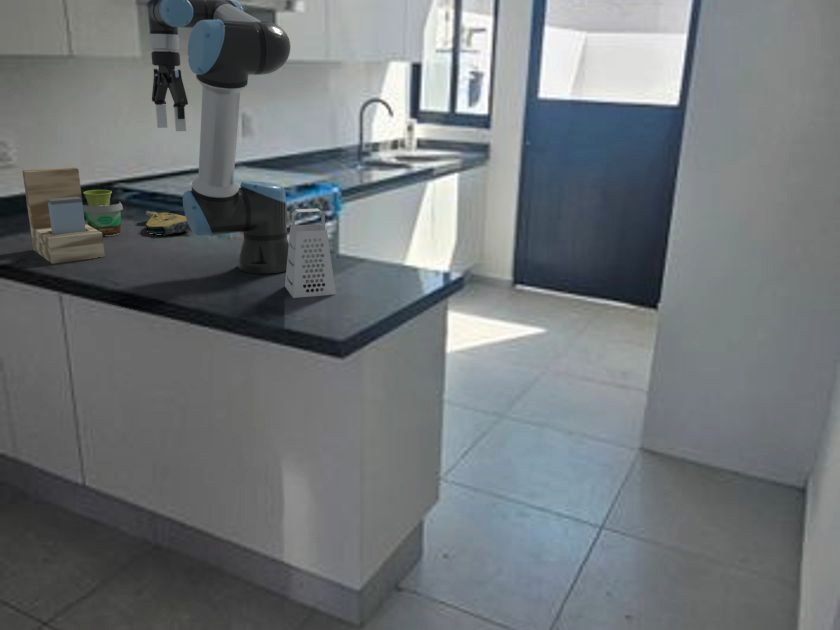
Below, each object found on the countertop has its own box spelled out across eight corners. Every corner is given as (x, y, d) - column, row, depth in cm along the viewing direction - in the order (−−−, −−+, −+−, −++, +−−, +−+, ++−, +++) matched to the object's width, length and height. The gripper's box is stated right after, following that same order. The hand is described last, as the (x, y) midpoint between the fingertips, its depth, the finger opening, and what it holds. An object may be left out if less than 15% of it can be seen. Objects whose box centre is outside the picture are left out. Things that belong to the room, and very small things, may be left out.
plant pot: (119, 214, 275) (117, 190, 272) (103, 219, 266) (101, 194, 264) (97, 213, 277) (94, 189, 274) (80, 217, 268) (77, 193, 265)
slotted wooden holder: (104, 256, 215) (95, 175, 208) (52, 263, 207) (40, 179, 200) (83, 243, 230) (74, 167, 223) (33, 249, 221) (22, 170, 214)
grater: (335, 294, 185) (334, 213, 179) (293, 297, 181) (290, 215, 175) (325, 283, 194) (324, 205, 188) (284, 286, 191) (282, 207, 184)
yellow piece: (172, 201, 267) (195, 216, 243) (176, 217, 269) (199, 233, 245) (131, 210, 261) (151, 226, 236) (136, 226, 263) (155, 244, 239)
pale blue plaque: (86, 240, 216) (81, 198, 212) (56, 244, 211) (51, 201, 207) (82, 238, 219) (77, 196, 215) (53, 241, 214) (47, 199, 210)
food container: (92, 239, 236) (88, 207, 233) (85, 236, 240) (81, 204, 237) (131, 234, 244) (128, 203, 240) (124, 231, 248) (121, 201, 245)
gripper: (196, 51, 203) (202, 132, 210) (161, 51, 222) (167, 125, 228) (169, 50, 199) (176, 133, 206) (135, 50, 217) (142, 126, 224)
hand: (171, 129), depth 217 cm, fingers open, 13 cm apart
